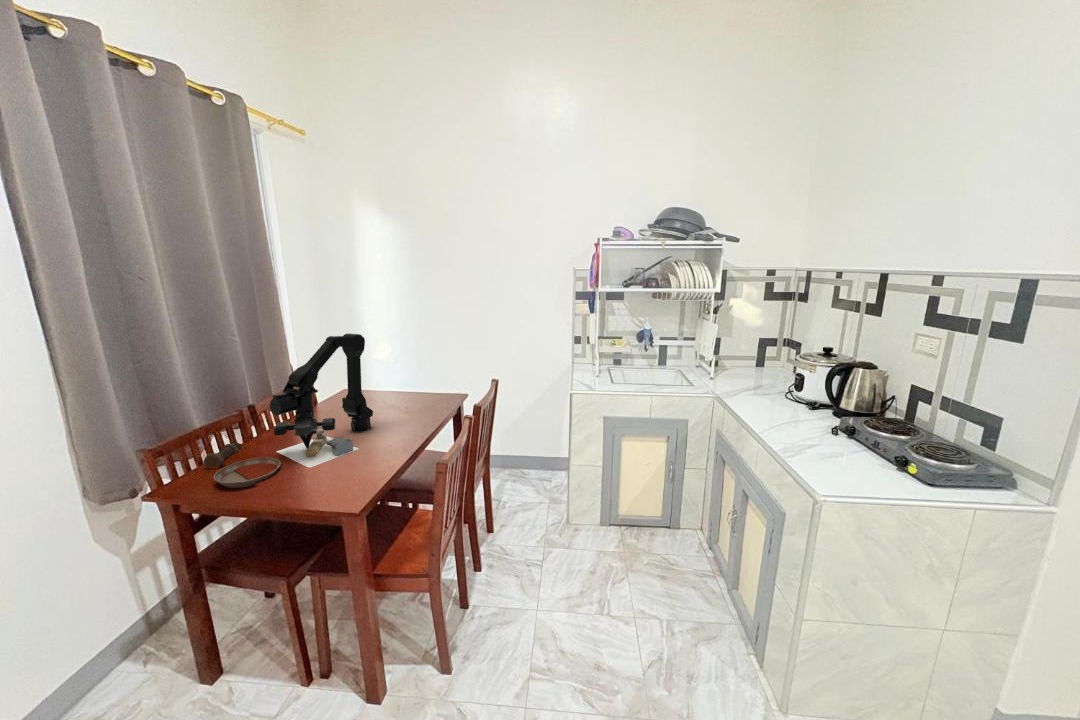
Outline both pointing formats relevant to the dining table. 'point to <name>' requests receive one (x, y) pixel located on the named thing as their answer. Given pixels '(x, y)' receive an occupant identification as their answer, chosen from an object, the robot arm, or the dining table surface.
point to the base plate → (300, 456)
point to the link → (316, 443)
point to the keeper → (340, 446)
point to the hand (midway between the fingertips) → (307, 449)
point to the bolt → (221, 455)
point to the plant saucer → (237, 480)
